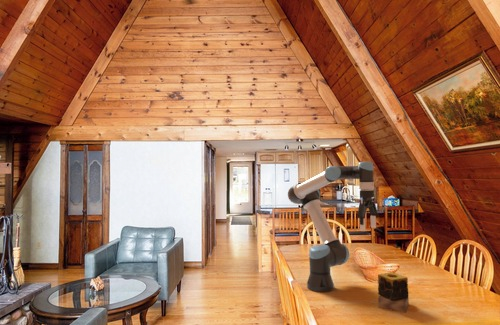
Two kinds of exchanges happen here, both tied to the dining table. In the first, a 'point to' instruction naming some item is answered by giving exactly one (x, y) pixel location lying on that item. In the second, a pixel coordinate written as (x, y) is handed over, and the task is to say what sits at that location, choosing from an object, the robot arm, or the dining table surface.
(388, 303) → the walnut plinth
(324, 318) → the dining table surface
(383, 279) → the candle
